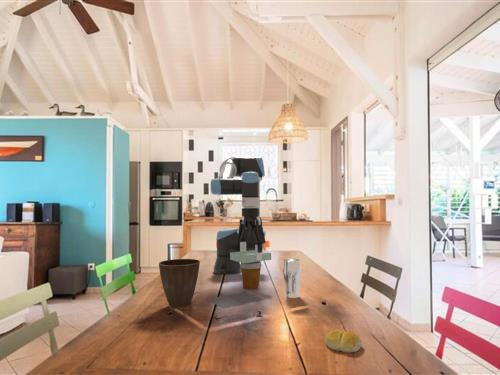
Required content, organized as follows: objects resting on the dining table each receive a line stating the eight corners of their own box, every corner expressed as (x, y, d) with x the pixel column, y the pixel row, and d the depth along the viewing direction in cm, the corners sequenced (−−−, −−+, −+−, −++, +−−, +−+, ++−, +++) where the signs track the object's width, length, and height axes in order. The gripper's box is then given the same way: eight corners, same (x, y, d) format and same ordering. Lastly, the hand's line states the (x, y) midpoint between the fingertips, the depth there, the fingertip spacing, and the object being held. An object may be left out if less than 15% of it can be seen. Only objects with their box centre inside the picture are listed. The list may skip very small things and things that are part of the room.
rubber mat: (205, 301, 132) (205, 299, 132) (244, 294, 142) (244, 291, 142) (223, 311, 120) (223, 308, 120) (264, 302, 130) (264, 299, 130)
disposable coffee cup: (262, 287, 153) (262, 260, 153) (261, 293, 143) (261, 264, 144) (241, 287, 154) (241, 260, 154) (238, 292, 144) (238, 263, 145)
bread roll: (331, 338, 96) (330, 323, 96) (363, 344, 91) (363, 329, 92) (320, 348, 89) (320, 333, 89) (355, 356, 84) (355, 340, 85)
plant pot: (149, 309, 122) (150, 264, 123) (173, 298, 136) (173, 257, 137) (186, 314, 117) (186, 266, 118) (207, 302, 131) (206, 259, 132)
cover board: (230, 259, 150) (230, 252, 150) (256, 256, 157) (256, 249, 158) (244, 263, 140) (244, 255, 141) (271, 259, 148) (271, 252, 148)
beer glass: (303, 297, 137) (303, 258, 138) (298, 301, 131) (297, 261, 131) (286, 295, 140) (286, 257, 141) (281, 299, 134) (280, 260, 134)
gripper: (229, 207, 157) (229, 255, 156) (259, 208, 138) (259, 263, 137) (242, 207, 162) (243, 254, 161) (273, 207, 142) (274, 261, 141)
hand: (250, 258), depth 149 cm, fingers closed on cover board, 11 cm apart
